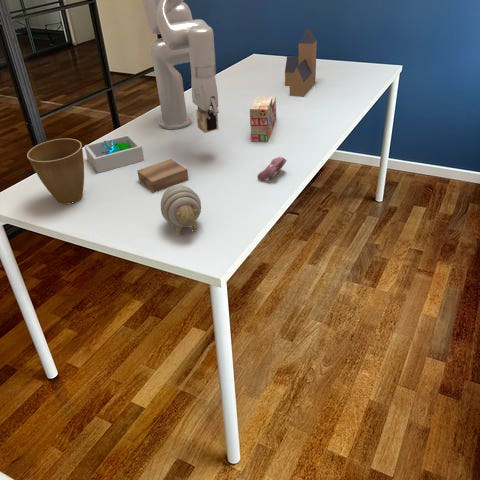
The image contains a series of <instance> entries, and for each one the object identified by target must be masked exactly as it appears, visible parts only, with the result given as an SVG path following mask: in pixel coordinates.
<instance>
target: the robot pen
mask: <svg viewBox="0 0 480 480" xmlns="http://www.w3.org/2000/svg"><path fill="white" fill-rule="evenodd" d="M111 139H113V143H114V145H115V144H121V143H126V144H128V145H129V146H130V149H126V150H122V151H119V152H115V153H111V154H107V153H103V154H102V152H106V151H109V150H108V148H107V147H106V146H104V145H103V144H104V141H106V144H107V145H108V146H109V147H111V148H112V141H111ZM102 145H103V146H102ZM83 147H84V151H85V153H86V154H85V155H86V159H87V161H88V162H89V163H90V165H91V166H92V167H93V169H94V170H95V171H96V173H97V174H100V173H104V172H107V171H111V170H115V169H118V168H121V167H126V166H129V165H133V164H137V163H140V162H143V161H145V157H144V152H143V151H144V150H143V147H142V145H141V144H140V143H138V141H137V140H136V139H135V138H133V137H132V135H130V134H125V135H120V136H116V137H113V138H109V139H105V140H101V141H98V142H92V143H90V144H85V145H84V146H83ZM106 154H107V155H106Z"/></svg>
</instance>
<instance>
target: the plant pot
mask: <svg viewBox="0 0 480 480" xmlns="http://www.w3.org/2000/svg"><path fill="white" fill-rule="evenodd" d="M26 156H27V159H28V161H29V163H30V164H31V166H32V168H33V170H34V172H35V173H36V175H37V176H38V178H39V180H40V182H41V183H42V184H43V186H44V187H45V188H46V190H47V191H48V192H49V194H51V196H52V197H53V198H54V199H55V201H57V203H58V204H60V203H63V204H62V205H69V204H68V203H71V204H73V203H72V202H74V203H77V202H79V201H80V200H81V199H82V198H83V194H84V185H85V159H84V151H83V144H82V142H81V141H79V140H78V139H74V138H66V137H65V138H56V139H52V140H47V141H44V142H41V143H38V144H37V145H35V146H34V147H32V148H30V150H28V152H27V154H26ZM79 199H80V200H79ZM78 200H79V201H78ZM76 201H77V202H76Z"/></svg>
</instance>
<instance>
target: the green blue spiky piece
mask: <svg viewBox="0 0 480 480" xmlns="http://www.w3.org/2000/svg"><path fill="white" fill-rule="evenodd" d="M110 139H111V141H112V148H111V147H109V146H108V145H107V144H106V141H104V140H103V141H104V144H103V145H104V146H106V147H107V148H108V150H109V151H106V152H102V154H103V153H107V154H111V153H115V152H119V151H122V150H126V149H130V146H129V145H128V144H126V143H121V144H115V145H114V143H113V139H112V138H110ZM103 145H102V146H103ZM107 154H106V155H107Z"/></svg>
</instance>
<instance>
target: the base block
mask: <svg viewBox="0 0 480 480" xmlns="http://www.w3.org/2000/svg"><path fill="white" fill-rule="evenodd" d="M136 171H137V178H138V181H139V182H140V183H141V184H142V185H144V186H145V187H146V188H148V189H149V190H150V191H151V192H152V193H154V194H155V193H157V192H160V191H163V190H165V189H166V190H167V189H168V188H169V187H171V186H174V185H180V184H182V183H184V182H187V181H189V173H188V168H186V167H184V166H183V165H181V164H179V163H178V162H176V161H175V160H174V159H172V158H169V159H167V160H165V161H161V162H158V163H155V164H153V165H152V164H151V165H150V166H147V167H144V168H141V169H138V170H136Z"/></svg>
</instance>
